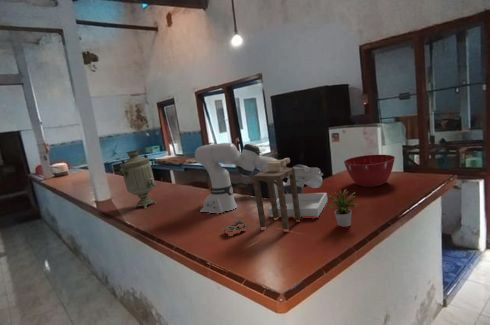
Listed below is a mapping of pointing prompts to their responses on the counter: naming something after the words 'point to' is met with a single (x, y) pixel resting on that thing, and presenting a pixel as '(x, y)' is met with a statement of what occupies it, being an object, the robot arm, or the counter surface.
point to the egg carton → (236, 225)
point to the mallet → (278, 164)
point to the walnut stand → (279, 180)
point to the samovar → (138, 177)
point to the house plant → (343, 208)
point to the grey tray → (304, 204)
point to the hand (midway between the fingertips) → (294, 168)
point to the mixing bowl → (370, 169)
